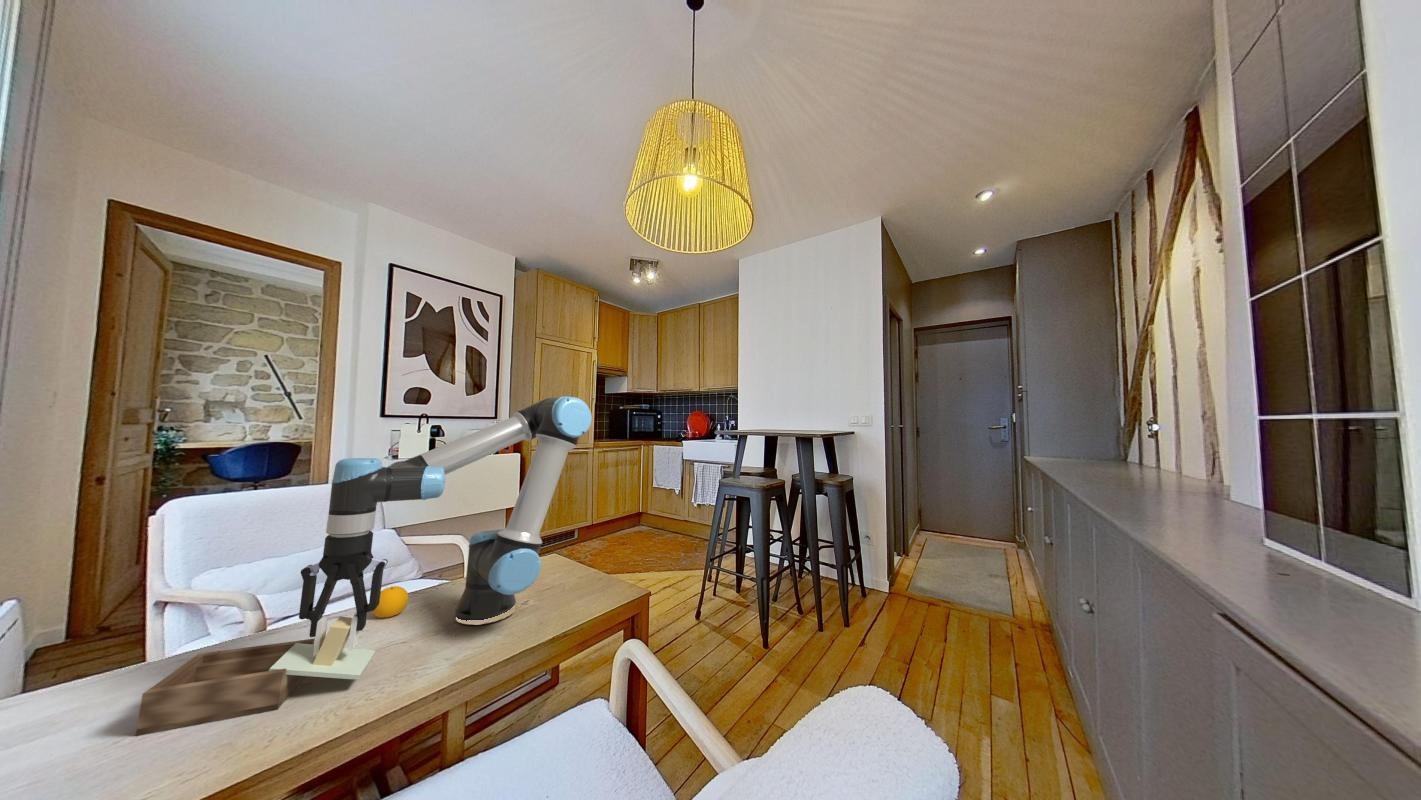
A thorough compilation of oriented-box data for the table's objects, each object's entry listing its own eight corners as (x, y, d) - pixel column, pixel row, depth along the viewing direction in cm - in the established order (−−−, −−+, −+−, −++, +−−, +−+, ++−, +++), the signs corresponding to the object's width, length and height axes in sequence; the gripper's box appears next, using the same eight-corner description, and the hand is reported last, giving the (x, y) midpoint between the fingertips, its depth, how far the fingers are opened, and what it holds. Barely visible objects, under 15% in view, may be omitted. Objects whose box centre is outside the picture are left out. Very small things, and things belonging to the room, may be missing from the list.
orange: (410, 607, 115) (413, 580, 116) (402, 619, 108) (405, 590, 109) (376, 610, 112) (379, 583, 113) (365, 623, 105) (369, 593, 106)
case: (310, 670, 84) (314, 638, 85) (277, 709, 72) (282, 671, 73) (192, 689, 77) (198, 653, 77) (135, 736, 65) (142, 693, 66)
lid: (374, 654, 88) (390, 617, 89) (358, 679, 79) (376, 637, 80) (294, 647, 82) (313, 607, 84) (267, 673, 73) (289, 628, 75)
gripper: (406, 526, 91) (394, 633, 88) (302, 531, 83) (286, 648, 81) (397, 534, 84) (384, 650, 82) (283, 540, 76) (265, 668, 74)
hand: (336, 649), depth 81 cm, fingers open, 5 cm apart
